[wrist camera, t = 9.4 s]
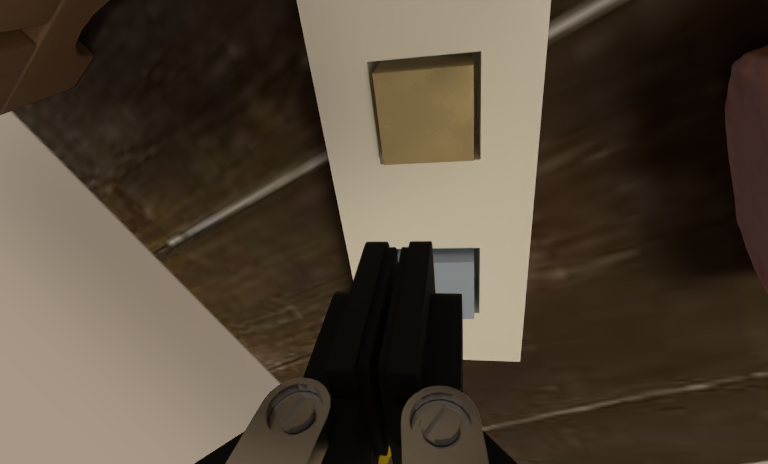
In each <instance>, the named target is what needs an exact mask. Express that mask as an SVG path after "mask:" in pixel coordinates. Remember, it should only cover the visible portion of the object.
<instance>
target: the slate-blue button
mask: <svg viewBox="0 0 768 464" xmlns="http://www.w3.org/2000/svg"><path fill="white" fill-rule="evenodd" d="M400 252H401V249H399V251H398V262H399V257H400ZM433 262H434V277H435V291H436V293H455V294H462V312H463V319H474V251H473V248H433Z"/></svg>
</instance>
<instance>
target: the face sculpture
mask: <svg viewBox="0 0 768 464" xmlns="http://www.w3.org/2000/svg"><path fill="white" fill-rule="evenodd" d="M725 126H726V135H727V147H728V157H729V164H730V170H731V177H732V184H733V191H734V198H735V209H736V219H737V224H738V226H739V228H740V230H741V233H742V237H743V240H744V243H745V246H746V249H747V251H748V254H749V256H750V259H751V262H752V264H753V267H754V269H755V271H756V273H757V275H758V277H759V279H760V281H761V283H762V285H763V287H764V289H765V291H766V293H767V294H768V45H766V46H765V47H763V48H759V49H755V50H752V51H750V52H747V53H745V54H744V55H743V56H742V57H741V58H740V59H738V60H736V61H735V62H734V63H733V64H732V68H731V76H730V80H729V83H728V91H727V98H726V102H725Z"/></svg>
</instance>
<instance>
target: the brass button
mask: <svg viewBox="0 0 768 464" xmlns="http://www.w3.org/2000/svg"><path fill="white" fill-rule="evenodd" d="M372 76H373V84H374V92H375V99H376V107H377V115H378V123H379V131H380V139H381V146H382V154H383V162H384V165H396V164H416V163H437V162H457V161H474V64H473V56H472V53H465V54H454V55H444V56H433V57H422V58H411V59H401V60H390V61H380V63H379V64H378V66H377V68H376V69H375V71H374V72H373V74H372Z"/></svg>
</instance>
